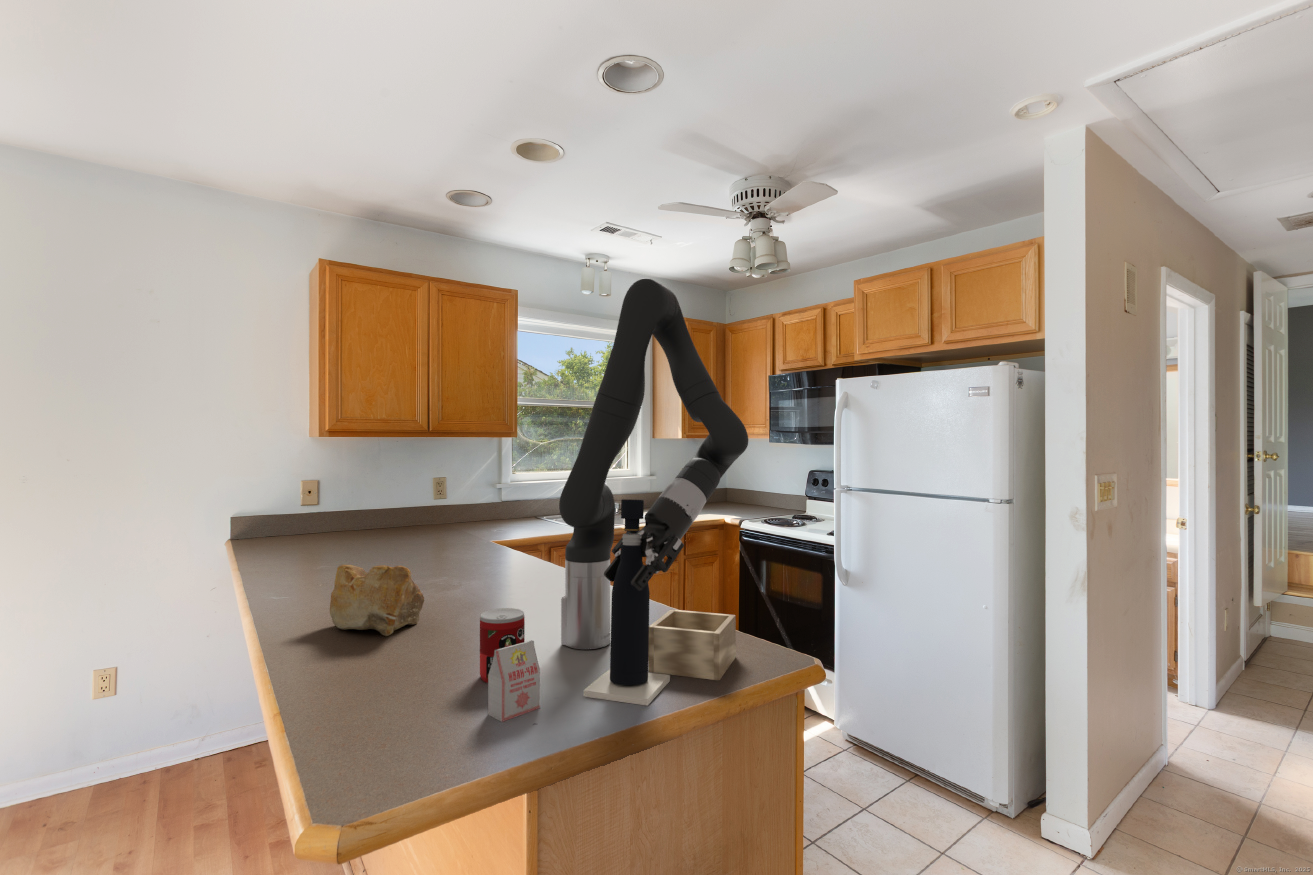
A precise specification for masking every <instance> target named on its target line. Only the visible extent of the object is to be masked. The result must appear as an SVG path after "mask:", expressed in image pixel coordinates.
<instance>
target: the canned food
mask: <svg viewBox="0 0 1313 875" xmlns="http://www.w3.org/2000/svg"><path fill="white" fill-rule="evenodd" d="M525 625H526V624H525V611H523V610H522V609H519V608H514V607H513V608H512V607H505V608H504V607H503V608H493V609H489V610H486V611H483V612H482V613H480V616H479V675H480V679H481V681H483V682H484V683H487V684H488V675H489V671H490V668H491V665H492V662H493V658H494V653H495V650H497V649H501V648H505V647H509V646H512V645H516V644H520V643H524V642H526V641H525V635H526V634H525V627H526V626H525Z"/></svg>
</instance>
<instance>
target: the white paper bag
mask: <svg viewBox="0 0 1313 875" xmlns="http://www.w3.org/2000/svg"><path fill="white" fill-rule="evenodd" d="M535 646H536V645H535V641H534V640H528V641H525V642H524V643H520V644H516V645H512V646H509V647H505V648H501V649H497V650H495V653H494V658H493V662H492V665H491V668H490V671H489V675H488V683H487V686H488V689H487V690H488V691H487V695H488V696H487V697H488V700H487V702H488V708H487V713H488V715H489V716H490V717H492V718H494V719H496V720H498V721H499V722H505V721H507V720H510V719H514V718H516V717H518V716H522V715H524V714H527V713H531V712H533V711H535V710H538V709H540V708H541V668H540V665H539V661H538V656H537V652H536V648H535Z"/></svg>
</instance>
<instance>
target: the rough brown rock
mask: <svg viewBox="0 0 1313 875" xmlns="http://www.w3.org/2000/svg"><path fill="white" fill-rule="evenodd" d="M336 570H337V571H336V573H335V579H334V587H333V590H332V591H331V593H330V603H329V615H330V618H331V620H332V621H331V622H332V623H333V625H334V626H336V628H338V629H340V630H358V631H360V630H361V631H365V630H370V629H371V630H375V631H377V632H379V634H380V635H382V636H385V637H388V636H390V635H392V634H394V631H397V630H398V629H401V628H402V627H405V626H406V625H407V626H413V625H417V624H418V622H419V620H420V613H421V611H422V608H423V606H424V603H425V596H424V594H423V593H422V591H421V589H420V588H419V585H418V584H416V583H415V582H414V580H413V579H412V573H411V570H410V569H409V568H408V567H406V566H403V565H396V566H389V565H384V564H383V565H375V566H372V567H371V568H370V569H369V570H368V572H366V570H364V568H363V567H359V566H356V565H353V564H340V565H339V566H337V568H336Z"/></svg>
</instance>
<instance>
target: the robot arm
mask: <svg viewBox="0 0 1313 875" xmlns="http://www.w3.org/2000/svg"><path fill="white" fill-rule="evenodd" d="M618 318H619V319H618V323H617V327H616V332H615V336H614V341H613V344H612V348H611V351H610V354H609V358H608V359H607V360H608V361H607V362H606V363H607V364H606V366H605V367H606V368H605V369H604V370H605V371H604V373H603V377H602V380H601V383H600V385H599V388H598V391H597V393H596V397H595V399H594V403H593V406H592V409H591V413H590V416H589V420H588V423H587V426H586V428H585V432H584V436H583V438H582V442H581V445H580V449H579V451H578V454H577V457H576V459H575V461H574V464H573V466H572V468H571V471H570V472H569V474H568V478H567V479H566V482H565V484H564V487H563V488H562V492H561V493H560V497H559V502H558V510H559V515H560V516H561V519H562V521H563V522H564V523H565V524H566V525H567V526H570V527H572V528H573V532H572V536H571V539H570V540H569V542H568V543H567V544H566V546H565V549H564V550H565V553H564V554H565V555H564V556H565V557H564V558H565V560H564V562H565V563H564V565H565V566H564V567H565V568H564V569H565V570H564V571H565V572H564V575H565V578H564V579H565V581H564V582H565V583H564V584H565V586H564V587H565V588H564V589H565V590H564V592H565V594H564V596H562V597H561V599H560V602H561V603H560V606H561V607H560V612H561V613H560V616H561V618H560V622H561V623H560V624H561V625H560V628H561V630H560V645H562V646H563V645H564V646H566V647H568V648H571V649H575V650H595V649H596V650H597V649H601V648H603V647H607V646H608V645H609V646H610V645H611V583H612V582H613V583H614V579H615V575H616V572H617V569H618V566H619V564H620V552H621V545H623V542H622V541H623V538H622V537H621V538H620V540H619V541H618V542H617V543H616V544H615V545H614V546H613V544H614V538H615V520H616V518H615V516H616V514H615V513H616V512H615V510H616V508H615V507H616V506H615V505H616V504H615V499H614V498H615V497H614V494H613V492H612V489H611V488H610V487H609V486H608V485H607V484H606V481H607V476H608V474H609V472H610V469H611V467H612V464H613V463H614V461H615V459H616V458H617V456H618V454H619V453H620V451H621V450H622V449H623V447H624V445H625V444H626V443H627V441H628V439H629V438H630V436H631V435H632V433H633V430H634V429H635V426H636V423H637V420H638V418H639V415H640V412H641V410H642V406H643V403H644V398H645V390H646V372H645V370H646V369H645V368H646V367H645V366H646V356H647V352H648V348H649V344H650V342H651V339H652V336H653V337H654V338H655V340H656V341H657V343H658V344H659V345H660V347H661V348H662V350H663V353H664V354H665V357H666V359H667V362H668V365H669V369H670V370H669V371H670V374H671V378H672V382H673V385H674V387H675V390H676V391H677V392H676V393H677V394H678V396H679V398H680V400H681V402H682V404H683V406H684V408H685V411H686V412H687V413H688V415H689V417H690V418H691V419H692V420H693V422H696V423H702V424H703V426H704V427H705V429H706V430H707V432H708V435H707V436H706V437H705V439H704V440H703V441H702V442H701V444H700V446H699V447H698V448H697V450H696V452H695V453H694V455H693V456H692V458H691V459H690V460H689V461H687V463H685V465H684V466H683V467H682V469H681V470H680V471H679V472H678V474H677V475H676V476H675V478H674V479H673V480H672V481H671V482H670V483H669V484H668V485H667V486H666V487H665V488H664V490H663V491H662V493H660V495H659V496H658V498H656V500H655V501H654V503H653V504H652V505H651V507H650V508H649V509H648V510H647V512H646V513H645V514H644V522H645V523H644V524H645V525H644V527H642V528H641V529H640V530H639V531H637V532H629V531H625V534H641V537H642V538H641V545H642V548H641V551H642V558H645V564H643V566H642V567H641V569H640V570H639V571H638V573H637V574H636V575H635V577H634V578H633V579H632V581H631V585H632V586H633V587H634V588H635V589H636V590H639V591H641V590H642V589H643V588H644V587H645V586H646V584H647V583H648V584H649V581H650V580H651V579H652V577H653V576H654V575H656V574H658V573H659V572H661V571H662V572H663V573H666V572H668V571H669V569H670V568H671V566H672V565H673V563H674V561H675V560H676V559H677V557H678V556H679V554H680V553H681V551H682V550H683V549H684V546H685V544H684V542H682V538H683V537H684V535H685V534H686V533H687V532H688V530H689V529H690V527H691V526H692V524H693V523H694V522H695V520H696V519H697V518H698V517H699V515H700V514H701V512H702V510H703V508H704V507H705V505H706V503H708V500H709V499H710V498H711V496H712V495H713V493H714V492H715V490H716V489H717V487H718V486H719V484H720V482H721V479H722V477H723V476H724V474H725V473H726V472H727V471H728V470H729V468H730V467H731V466H732V465H733V463H734V462H735V461H736V460H737V459H738V458H739V457H741V455H742V454H743V453H744V452H746V450H747V448H748V445H749V435H748V431H747V429H746V426H745V424H744V423H743V421H742V420H741V418H740V417H739V416H738V415H737V414H736V412H734V411H733V409H732V408H731V407H730V406H729V404H727V403H726V402H725V401H724V399H723V398H722V396H721V394H720V391H719V390H718V388H717V386H716V384H715V383H714V381H713V379H712V377H711V375H710V374H709V371H708V370H707V368H706V366H705V365H704V362H703V360H702V359H701V356H700V355H699V353H698V350H697V348H696V346H695V345H694V341H693V339H692V337H691V335H690V331H689V329H688V327H687V324H686V321H685V318H684V315H683V312H682V308H681V306H680V303H679V299H678V298H677V296H676V294H675V293H674V292H673V291H671V289H669V288H668V287H666V286H665V285H663V284H662V283H660V282H658V281H657V280H655V279H652V278H649V277H644V278H640V279H637V280H636V281H634V282H633V283H632V285H630V287H629V288H628V289H627V291H626V293H625V296H624V298H623V301H622V305H621V310H620V313H619V317H618ZM612 547H613V548H612ZM611 553H612V555H614V559H613V560H612V562H611ZM665 557H666V561H664V559H665Z"/></svg>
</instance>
